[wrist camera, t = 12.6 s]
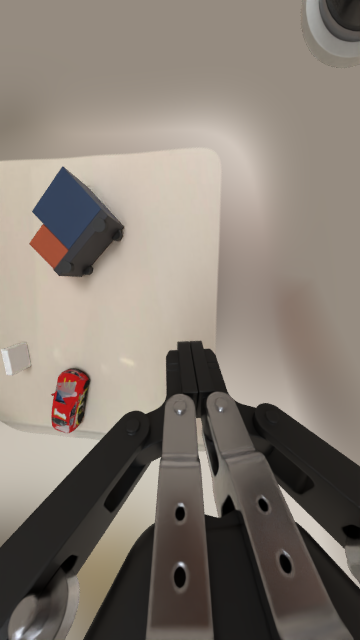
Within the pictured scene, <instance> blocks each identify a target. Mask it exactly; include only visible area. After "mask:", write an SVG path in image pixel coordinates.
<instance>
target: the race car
mask: <svg viewBox="0 0 360 640" xmlns="http://www.w3.org/2000/svg"><path fill="white" fill-rule="evenodd" d="M89 382H90V381H89V379H88V377H87V376H86V375H85V374H84V373H83V372H81V371H80V370H77V369H68V370H66V371H64V372H62V373H61V374H60V375H59V377H58V381H57V387H56V392H55V393H54V394H51V395H52V396H54V399H53V406H52V426H53V427H54V428H55V429H56V430H58V431H61V432H64V433H70V432H72V431H74V430H75V429H76V428H77V427H78V425H79V424H80V423H81V421H82V418H83V416H84V407H85V401H86V395H87V389H88V388H87V387H88V385H89Z"/></svg>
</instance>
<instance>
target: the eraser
mask: <svg viewBox="0 0 360 640" xmlns="http://www.w3.org/2000/svg"><path fill="white" fill-rule="evenodd" d="M1 352H2V356H3V361H4V365H5V369H6V374H7V375H14V374H16V373H18V372H20V371H22V370H24V369H26V368H28V367H30V366H31V362H30V357H29V352H28V347H27V343H18V344H15V345H13V346H10V347H7V348H4V349H1Z"/></svg>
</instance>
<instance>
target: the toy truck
mask: <svg viewBox="0 0 360 640" xmlns="http://www.w3.org/2000/svg"><path fill="white" fill-rule="evenodd" d="M32 212H33V213H34V214H35V215H36V216H37V217H38V218H39V219H40V220H41V222H42V223H43V225H42V226H41V228H40V229H39V231H38V232H37V233H36V235H35V236H34V238H33V239H32V240H31V242H30V243H29V244H30V245H31V246H32V247H33V248H34V249H35V250H36V251H37V252H38V253H39V254H40V255H41V256H42V257H43V258H44V259H45V260H46V261H47V262H48V263H49V264H50V265H51V266H52V267H53V269H54V271H55V272H56V273H57V274H58V275H59V276H77V277H82V276H83V275H90V274H91V273H92V271H93V268H92V266H91V265H92V264H93V263H94V262H95V260H96V259H97V258H98V257H99V256H100V255H101V253H102V252H103V251H104V250H105V249H106V247H107V246H108V245H109V244H110V243H111V242H112V240H115V241H119V240H121V238H122V232H121V230H122V229H123V227H124V226H123V225H122V224H121V223H120V222H119V221H118V220H117V219H116V217H115V216H114V215H113V214H112V213H111V212H110V211H109V210H108V209H107V208H106V207H105V205H104V204H103V203H102V202H101V201H100V200H99V199H98V198H97V197H96V196H95V195H94V193H93V192H92V191H91V190H90V189H89V188H88V187H87V186H86V185H85V184H83V183H82V182H81V181H80V180H79V179H77V178H76V177H75V176H74V175H73V174H71V173H70V172H69V171H68V170H67V169H65V168H64V167H62V168H61V169H60V171H59V172H58V174H57V175H56V177H55V178H54V180H53V181H52V183H51V184H50V186H49V187H48V189H47V190H46V192H45V193H44V194H43V196H42V197H41V199H40V200H39V202H38V203H37V205H36V206H35V208H34V209H33V211H32Z"/></svg>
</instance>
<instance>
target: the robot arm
mask: <svg viewBox="0 0 360 640" xmlns="http://www.w3.org/2000/svg"><path fill="white" fill-rule="evenodd" d="M319 9H320V14H321V18H322V20H323V23H324V25H325V27H326V28H327V29H328V31H329V32H330V33H331V34H332V35H333V36H335V37H336V38H338V39H340V40H343V41H348V42H358V41H360V0H319ZM166 381H167V396H166V400H165V402H164V403H163V404H162V406H161V407H159V408H158V409H156V410H154V411H152V412H149V413H147V414H144V413H143V412H141V411H132V412H129V413H127V414H125V415H124V416H123V417H122V418H121V419H120V420H119V421H118V422H117V423H116V424H115V425H114V426H113V428H112V429H111V430H110V431H109V432H108V433H107V434H106V435H105V436H104V437H103V438H102V439H101V440H100V442H99V443H98V444H97V445H96V446H95V447H94V448H93V449H92V450H91V451H90V452H89V453H88V454H87V455H86V456H85V457H84V459H83V460H82V461H81V462H80V463H79V464H78V465H77V466H76V467H75V468H74V469H73V470H72V471H71V473H70V474H69V475H68V476H67V477H66V478H65V479H64V480H63V481H62V482H61V483H60V484H59V485H58V486H57V488H55V490H54V491H53V492H52V493H51V494H50V495H49V496H48V497H47V498H46V499H45V500H44V501H43V502H42V504H41V505H40V506H39V507H38V508H37V509H36V510H35V511H34V512H33V513H32V514H31V515H30V516H29V518H27V520H26V521H25V522H24V523H23V524H22V525H21V526H20V527H19V528H18V529H17V530H16V531H15V533H13V534H12V536H11V537H10V538H9V539H8V540H7V541H6V542H5V543H4V544H3V545H2V546H1V547H0V640H65V638H66V636H67V634H68V632H69V630H70V628H71V626H72V624H73V621H74V618H75V615H76V612H77V608H78V603H79V593H80V591H79V590H80V589H79V582H78V578H77V576H76V575H77V573H78V572H79V570H80V569H81V567H82V566H83V564H84V563H85V561H86V560H87V558H88V557H89V555H90V554H91V552H92V551H93V549H94V548H95V546H96V545H97V543H98V542H99V540H100V539H101V537H102V536H103V534H104V533H105V531H106V530H107V528H108V527H109V525H110V523H111V522H112V521H113V519H114V518H115V516H116V515H117V513H118V511H119V510H120V509H121V507H122V505H123V504H124V502H125V501H126V499H127V498H128V496H129V495H130V493H131V492H132V490H133V489H134V487H135V485H136V484H137V483H138V481H139V480H140V478H141V477H142V475H143V474H144V472H145V471H146V469H147V468H148V466H149V465H150V463H151V461H154V460H156V459H158V458H160V457H161V460H160V467H159V478H158V491H157V504H156V516H155V523H154V524H152V525H151V526H150V527H148V529H146V530H145V531H144V532H143V533H142V534H141V536H140V537H139V538H138V539H137V541H136V542H135V544H134V545H133V547H132V548H131V550H130V552H129V553H128V555H127V557H126V559H125V561H124V563H123V565H122V567H121V568H120V570H119V573H118V574H117V576H116V578H115V580H114V582H113V584H112V586H111V588H110V590H109V591H108V593H107V595H106V597H105V599H104V601H103V603H102V605H101V607H100V608H99V610H98V612H97V614H96V616H95V618H94V620H93V622H92V624H91V626H90V628H89V629H88V631H87V633H86V635H85V637H84V639H83V640H360V589H359V587H358V586H357V585H356V584H355V583H354V582H353V581H352V580H351V579H350V578H349V577H348V576H347V574H346V573H345V572H344V571H343V570H342V569H341V568H340V567H339V566H338V565H337V564H336V563H335V561H334V560H333V559H332V558H331V557H330V556H329V555H328V554H327V553H326V552H325V551H324V550H323V548H322V547H321V546H320V545H319V544H318V543H317V542H316V541H315V540H314V539H313V538H312V537H311V535H310V534H309V533H308V532H307V531H306V530H305V529H303V528H302V527H301V526H300V525H299V524H298V523H297V522H295V521H294V519H293V516H292V514H291V512H290V510H289V508H288V505H287V503H286V501H285V499H284V497H283V495H282V492H281V490H280V488H279V486H278V484H279V485H280V486H281V487H282V488H283V489H284V490H285V491H286V492H287V493H288V494H289V495H290V496H291V497H292V498H293V499H294V500H295V501H296V502H297V503H298V504H299V505H300V506H301V507H302V508H303V509H304V510H305V511H306V512H307V513H308V514H309V515H311V516H312V517H313V518H314V519H315V520H316V521H317V522H318V523H319V524H320V525H321V526H322V527H323V528H324V529H325V530H326V531H327V532H328V533H329V534H330V535H331V536H332V537H333V538H334V539H335V540H336V541H337V542H338V543H339V544H340V545H341V546H343V548H344V549H345V553H346V557H347V564H348V567H349V569H350V571H351V573H352V574H353V576H354V577H355V578H356V579H357V580H358V582H359V583H360V466H359V465H357V464H356V463H354V462H353V461H351V460H350V459H349V458H347V457H346V456H345V455H343V454H342V453H340V452H339V451H338V450H336V449H335V448H333V447H332V446H330V445H329V444H328V443H326V442H325V441H324V440H322V439H321V438H319V437H318V436H317V435H315V434H314V433H313V432H311V431H309V430H308V429H307V428H306V427H304V426H303V425H301V424H300V423H299V422H297V421H296V420H294V419H293V418H292V417H290V416H289V415H287V414H286V413H285V412H283V411H282V410H280V409H279V408H278V407H276V406H274V405H272V404H268V403H263V404H260V405H258V406H257V408H255V407H251V406H247V405H243V404H240V403H238V402H236V401H235V400H234V399H233V398H232V397H231V396H230V395H229V394H228V392H227V389H226V386H225V383H224V380H223V377H222V374H221V371H220V369H219V364H218V362H217V358H216V355H215V354H214V353H213V351H212V350H211V349H203V345H202V341H190V342H189V341H185V342H177V350H170V351H169V352H168V354H167V356H166ZM196 418H201V421H202V436H203V441H204V445H205V449H206V454H207V458H208V462H209V467H210V471H211V475H212V481H213V493H214V498H215V503H216V508H217V512H218V516H219V518H216V517H213V516H209V515H205V514H204V504H203V503H204V502H203V490H202V477H201V465H200V459H199V456H198V443H197V429H196Z"/></svg>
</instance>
